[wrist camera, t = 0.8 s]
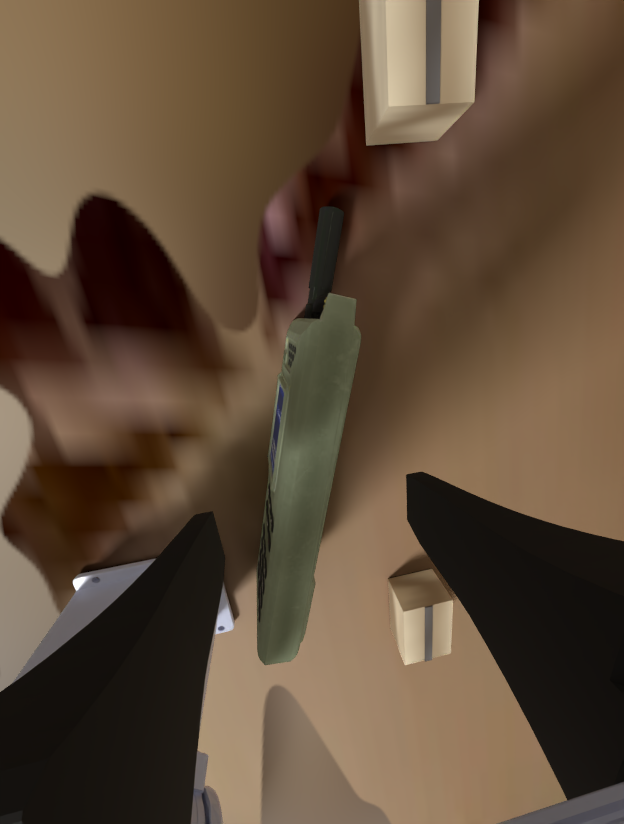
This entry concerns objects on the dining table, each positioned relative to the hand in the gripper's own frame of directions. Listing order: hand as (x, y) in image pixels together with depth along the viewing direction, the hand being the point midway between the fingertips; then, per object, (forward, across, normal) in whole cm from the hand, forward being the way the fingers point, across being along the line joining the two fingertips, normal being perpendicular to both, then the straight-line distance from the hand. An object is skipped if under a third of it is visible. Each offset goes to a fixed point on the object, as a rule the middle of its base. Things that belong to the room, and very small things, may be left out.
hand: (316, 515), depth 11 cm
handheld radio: (+10, 0, 0) cm, 10 cm away
